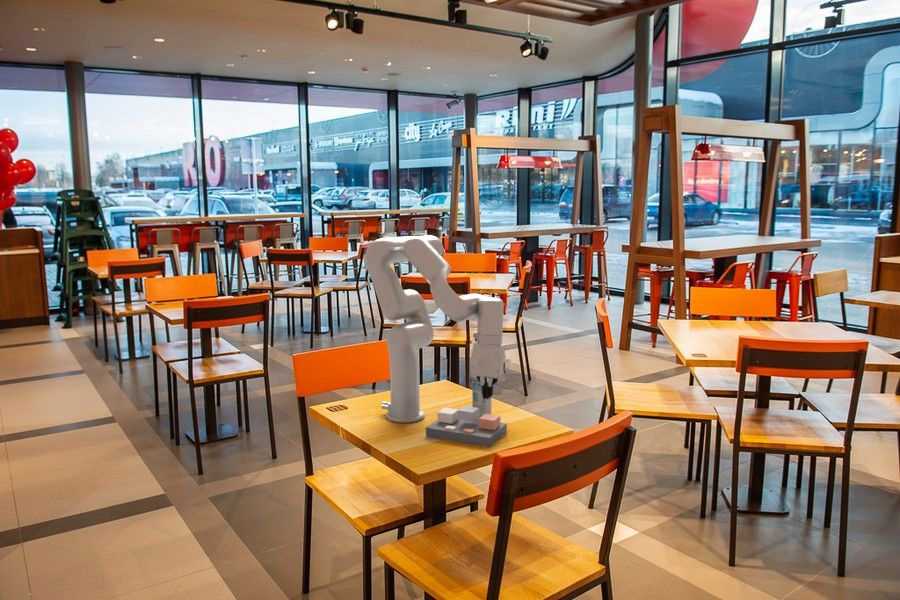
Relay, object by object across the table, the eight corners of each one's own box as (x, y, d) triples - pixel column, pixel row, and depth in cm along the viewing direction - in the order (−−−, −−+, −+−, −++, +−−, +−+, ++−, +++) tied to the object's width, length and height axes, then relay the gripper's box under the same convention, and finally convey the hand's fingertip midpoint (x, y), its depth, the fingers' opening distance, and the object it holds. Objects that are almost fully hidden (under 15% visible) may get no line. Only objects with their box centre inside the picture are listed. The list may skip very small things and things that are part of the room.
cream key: (437, 421, 215) (437, 412, 215) (444, 416, 220) (444, 407, 219) (451, 423, 213) (451, 414, 213) (458, 418, 217) (458, 409, 217)
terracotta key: (478, 427, 209) (478, 418, 209) (485, 423, 214) (485, 413, 213) (494, 430, 207) (494, 420, 207) (500, 425, 211) (500, 415, 211)
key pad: (425, 437, 211) (425, 425, 210) (445, 423, 223) (445, 412, 223) (489, 447, 202) (489, 435, 201) (506, 432, 214) (506, 421, 214)
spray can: (495, 416, 230) (496, 358, 227) (482, 421, 225) (483, 361, 222) (480, 412, 234) (481, 355, 231) (468, 417, 229) (468, 358, 226)
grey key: (457, 419, 212) (457, 410, 211) (464, 415, 216) (464, 405, 216) (472, 421, 210) (472, 412, 209) (479, 417, 214) (479, 407, 214)
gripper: (461, 338, 206) (459, 397, 209) (508, 344, 200) (505, 405, 203) (471, 333, 213) (469, 390, 216) (517, 339, 207) (514, 398, 210)
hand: (487, 397), depth 210 cm, fingers closed
